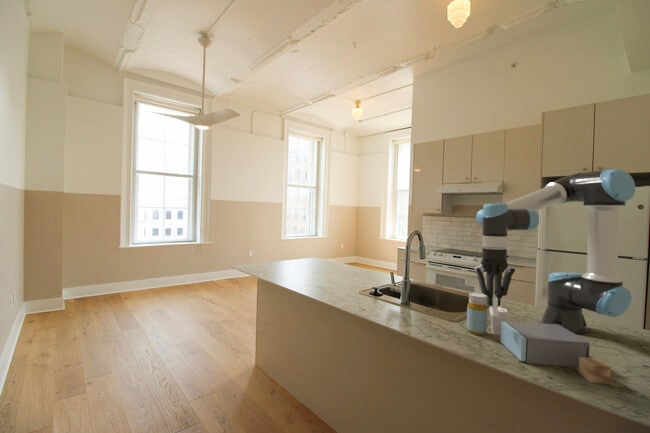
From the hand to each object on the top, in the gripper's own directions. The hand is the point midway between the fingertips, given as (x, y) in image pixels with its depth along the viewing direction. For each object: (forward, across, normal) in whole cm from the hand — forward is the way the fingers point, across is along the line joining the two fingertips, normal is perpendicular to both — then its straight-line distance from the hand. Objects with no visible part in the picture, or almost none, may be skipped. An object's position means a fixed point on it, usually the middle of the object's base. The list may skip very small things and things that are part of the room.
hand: (493, 314), depth 106 cm
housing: (+13, -16, +1) cm, 20 cm away
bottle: (+12, 0, -15) cm, 19 cm away
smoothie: (+13, -8, -15) cm, 21 cm away
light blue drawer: (+12, -14, +1) cm, 18 cm away
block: (+13, -22, +15) cm, 29 cm away
